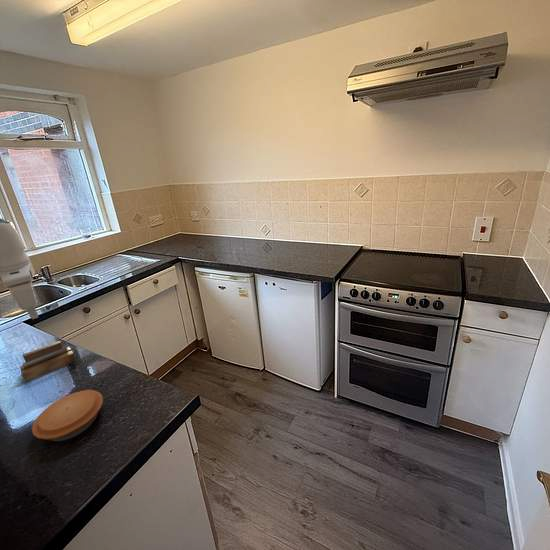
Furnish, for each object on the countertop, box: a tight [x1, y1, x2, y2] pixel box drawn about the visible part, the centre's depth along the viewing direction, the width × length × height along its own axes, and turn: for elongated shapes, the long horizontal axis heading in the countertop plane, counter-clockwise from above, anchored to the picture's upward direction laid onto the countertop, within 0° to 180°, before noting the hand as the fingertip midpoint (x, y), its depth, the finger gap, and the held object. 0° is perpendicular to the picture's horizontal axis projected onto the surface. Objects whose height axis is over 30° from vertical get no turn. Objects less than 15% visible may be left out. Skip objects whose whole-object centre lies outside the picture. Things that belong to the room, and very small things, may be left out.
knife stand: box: [19, 346, 77, 383], centre depth 99 cm, size 14×6×4 cm, turn 132°
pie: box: [31, 389, 104, 442], centre depth 76 cm, size 15×16×5 cm
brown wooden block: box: [21, 340, 68, 369], centre depth 98 cm, size 12×2×7 cm, turn 132°
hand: (33, 313), depth 94 cm, fingers open, 8 cm apart
